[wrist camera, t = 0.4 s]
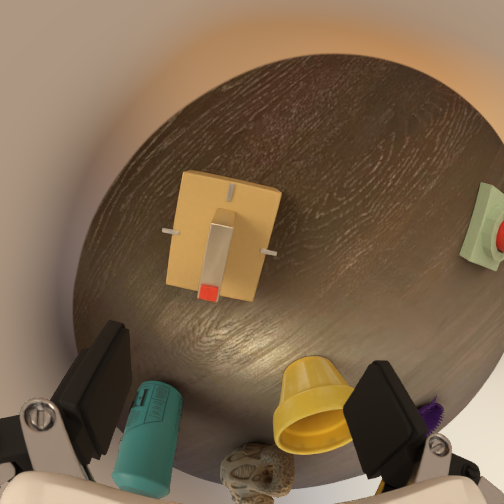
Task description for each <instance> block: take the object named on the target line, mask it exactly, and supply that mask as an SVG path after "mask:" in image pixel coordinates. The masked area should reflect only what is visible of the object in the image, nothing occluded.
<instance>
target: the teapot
mask: <svg viewBox="0 0 504 504" xmlns="http://www.w3.org/2000/svg"><path fill="white" fill-rule="evenodd" d="M220 478H221V481H222V483H223V484H224V486H226V487H227V488H228V489H229V490H230V493H231V495H232V500H233V501H234V502H235V504H274V499H273V498H272V496H273V497H277V498H279V497H282V496H285V495H287V494H288V493H289V492H290V490H291V486H292V484H293V482H294V458H293V454H292V453H288V452H285V451H283V450H281V449H280V448H279V447H278V446H277V445H276V444H274V445H265V444H259V443H247V444H244V445H242V446H240V447H238V448H235V449H234V450H233V451H232V452H231V453H230V454H229V455H228V456H226V457H225V458H224V460H223V461H222V462H221V467H220Z"/></svg>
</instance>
